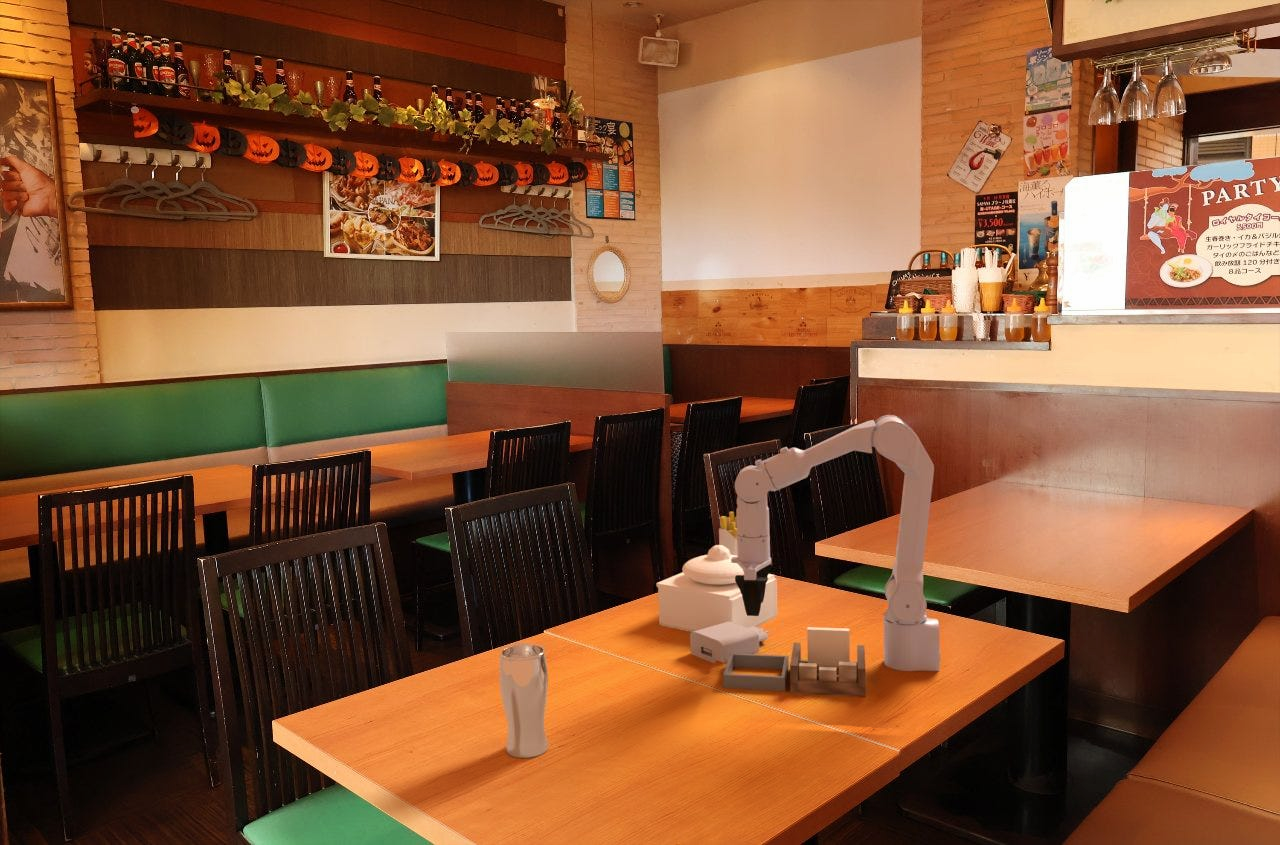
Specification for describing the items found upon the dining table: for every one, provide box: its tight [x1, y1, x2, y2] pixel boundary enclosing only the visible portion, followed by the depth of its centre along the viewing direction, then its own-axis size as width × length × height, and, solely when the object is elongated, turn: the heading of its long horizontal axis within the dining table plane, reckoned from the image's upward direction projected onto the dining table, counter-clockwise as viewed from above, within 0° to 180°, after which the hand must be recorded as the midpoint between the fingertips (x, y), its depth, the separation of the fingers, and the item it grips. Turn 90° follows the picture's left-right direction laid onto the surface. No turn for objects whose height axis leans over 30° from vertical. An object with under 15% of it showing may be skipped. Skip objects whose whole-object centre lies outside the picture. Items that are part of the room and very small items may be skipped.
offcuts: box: [799, 661, 857, 682], centre depth 159 cm, size 9×2×4 cm, turn 78°
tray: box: [722, 653, 790, 692], centre depth 165 cm, size 10×10×3 cm
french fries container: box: [718, 511, 738, 556], centre depth 219 cm, size 5×11×18 cm, turn 135°
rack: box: [789, 642, 867, 698], centre depth 163 cm, size 12×12×5 cm
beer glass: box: [499, 642, 549, 759], centre depth 142 cm, size 7×7×15 cm
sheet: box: [806, 626, 851, 667], centre depth 165 cm, size 7×1×8 cm, turn 78°
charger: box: [689, 622, 771, 664], centre depth 181 cm, size 5×9×15 cm
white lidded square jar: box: [656, 544, 778, 633], centre depth 198 cm, size 18×18×16 cm
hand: (755, 608), depth 174 cm, fingers open, 7 cm apart
